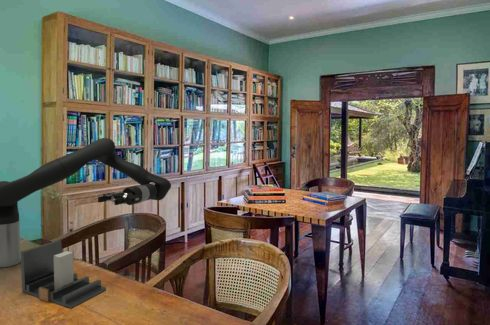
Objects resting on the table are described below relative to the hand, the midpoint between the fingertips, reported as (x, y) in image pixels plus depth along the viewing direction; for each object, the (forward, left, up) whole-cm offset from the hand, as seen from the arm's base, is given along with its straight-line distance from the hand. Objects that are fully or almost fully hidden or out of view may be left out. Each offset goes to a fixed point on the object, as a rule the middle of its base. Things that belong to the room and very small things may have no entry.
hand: (106, 201), depth 135 cm
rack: (+1, -20, -27) cm, 34 cm away
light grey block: (+1, -20, -26) cm, 33 cm away
